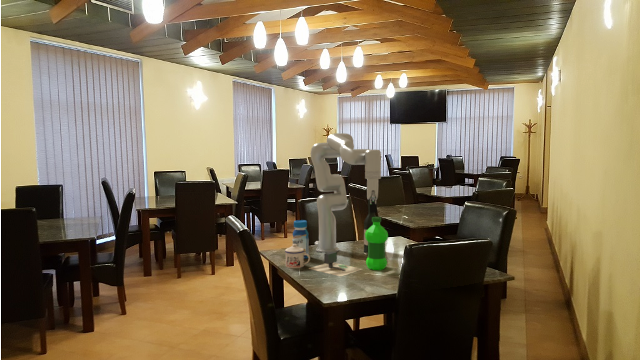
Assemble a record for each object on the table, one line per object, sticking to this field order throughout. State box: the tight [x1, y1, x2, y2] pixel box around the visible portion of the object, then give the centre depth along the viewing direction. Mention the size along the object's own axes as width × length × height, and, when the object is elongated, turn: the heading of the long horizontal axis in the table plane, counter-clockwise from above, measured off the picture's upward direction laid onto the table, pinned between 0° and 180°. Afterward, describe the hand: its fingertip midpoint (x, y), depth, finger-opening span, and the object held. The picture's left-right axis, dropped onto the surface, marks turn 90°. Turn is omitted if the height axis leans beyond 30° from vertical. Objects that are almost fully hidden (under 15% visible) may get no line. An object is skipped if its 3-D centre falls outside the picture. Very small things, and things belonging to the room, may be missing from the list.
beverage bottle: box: [291, 219, 310, 260], centre depth 236 cm, size 8×8×20 cm
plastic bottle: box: [365, 216, 389, 271], centre depth 214 cm, size 10×10×25 cm
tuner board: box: [307, 262, 363, 277], centre depth 214 cm, size 20×16×1 cm
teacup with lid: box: [284, 243, 311, 269], centre depth 220 cm, size 12×9×12 cm
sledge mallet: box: [323, 251, 345, 270], centre depth 214 cm, size 10×6×7 cm, turn 47°
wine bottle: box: [363, 199, 377, 254], centre depth 252 cm, size 8×8×30 cm
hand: (373, 211), depth 220 cm, fingers open, 9 cm apart
